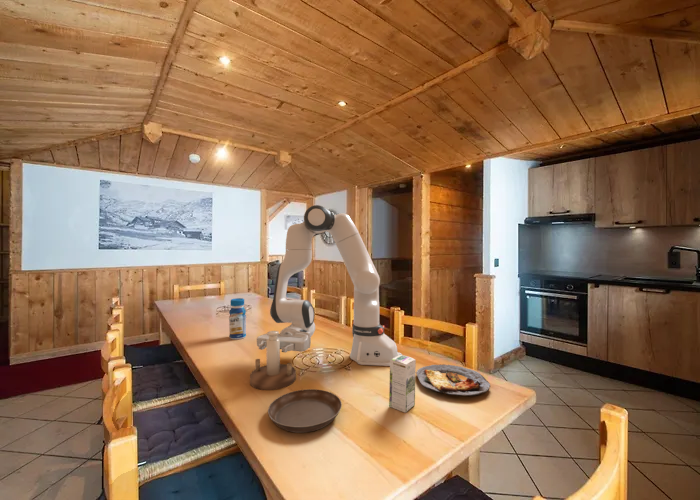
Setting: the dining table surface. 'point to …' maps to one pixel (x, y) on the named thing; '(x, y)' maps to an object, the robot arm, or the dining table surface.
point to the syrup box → (402, 383)
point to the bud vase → (273, 353)
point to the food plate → (452, 380)
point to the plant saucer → (304, 410)
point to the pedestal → (272, 377)
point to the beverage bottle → (237, 319)
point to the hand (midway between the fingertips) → (271, 348)
